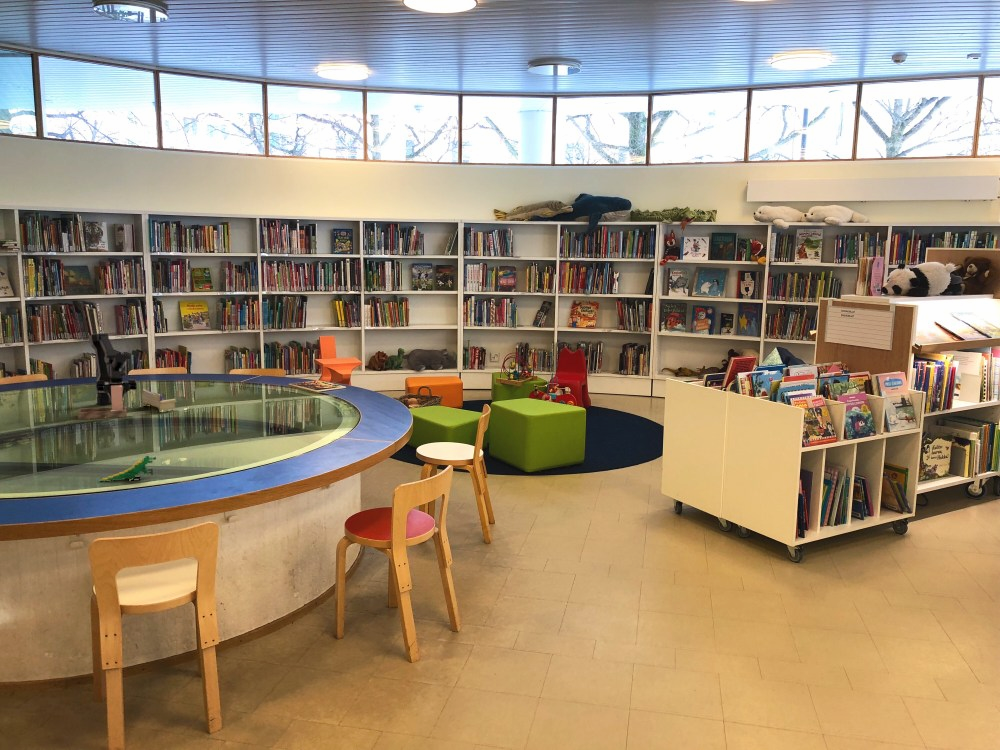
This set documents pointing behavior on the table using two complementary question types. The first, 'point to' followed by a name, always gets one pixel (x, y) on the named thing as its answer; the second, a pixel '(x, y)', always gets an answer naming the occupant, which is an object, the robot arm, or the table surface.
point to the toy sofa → (157, 400)
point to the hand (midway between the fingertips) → (116, 398)
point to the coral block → (116, 397)
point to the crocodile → (133, 470)
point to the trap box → (101, 413)
